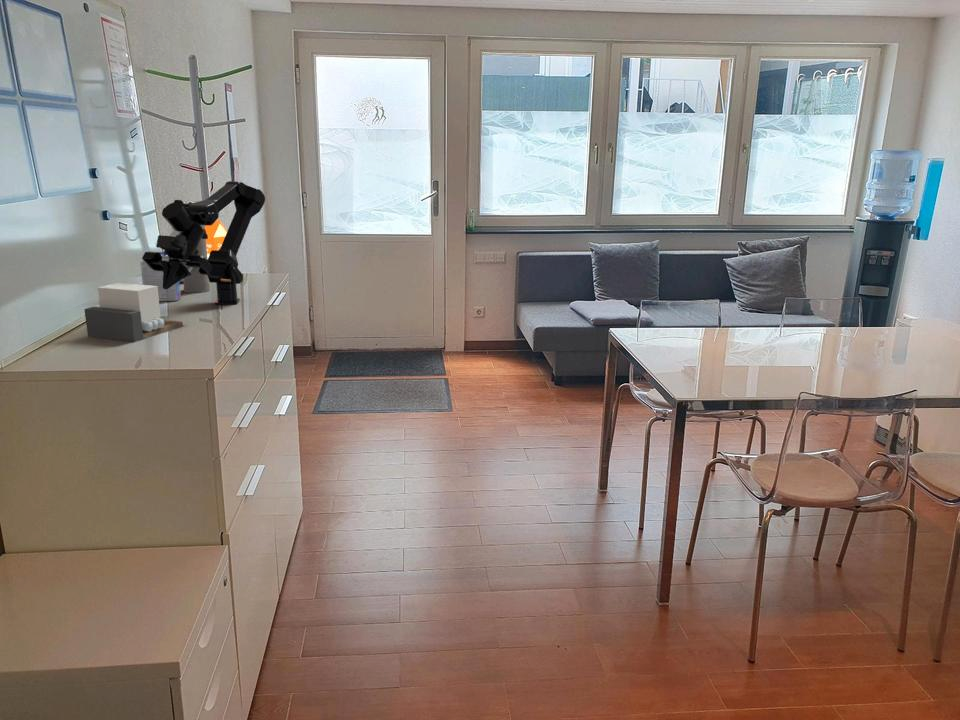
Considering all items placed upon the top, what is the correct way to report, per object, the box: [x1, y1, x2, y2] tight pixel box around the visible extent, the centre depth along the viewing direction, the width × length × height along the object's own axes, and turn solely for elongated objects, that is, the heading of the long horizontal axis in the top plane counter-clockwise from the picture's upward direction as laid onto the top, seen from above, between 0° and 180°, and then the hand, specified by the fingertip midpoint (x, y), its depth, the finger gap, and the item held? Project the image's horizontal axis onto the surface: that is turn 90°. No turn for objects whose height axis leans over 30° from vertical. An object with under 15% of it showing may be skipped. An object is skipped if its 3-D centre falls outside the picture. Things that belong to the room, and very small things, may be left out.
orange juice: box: [205, 220, 228, 259], centre depth 270 cm, size 8×9×20 cm
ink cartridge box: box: [140, 251, 182, 302], centre depth 229 cm, size 10×6×14 cm, turn 101°
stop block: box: [83, 306, 144, 343], centre depth 185 cm, size 3×14×7 cm, turn 73°
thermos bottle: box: [179, 202, 211, 294], centre depth 242 cm, size 8×8×28 cm
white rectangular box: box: [97, 282, 165, 331], centre depth 190 cm, size 7×14×10 cm, turn 73°
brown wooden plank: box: [142, 319, 184, 340], centre depth 193 cm, size 18×14×1 cm
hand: (164, 288), depth 201 cm, fingers closed
